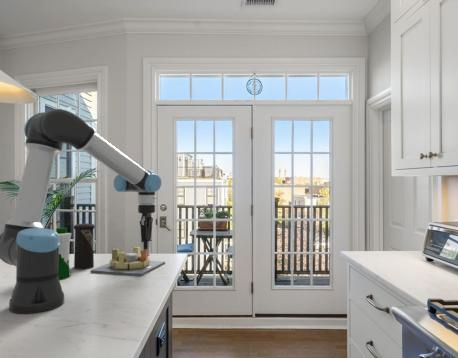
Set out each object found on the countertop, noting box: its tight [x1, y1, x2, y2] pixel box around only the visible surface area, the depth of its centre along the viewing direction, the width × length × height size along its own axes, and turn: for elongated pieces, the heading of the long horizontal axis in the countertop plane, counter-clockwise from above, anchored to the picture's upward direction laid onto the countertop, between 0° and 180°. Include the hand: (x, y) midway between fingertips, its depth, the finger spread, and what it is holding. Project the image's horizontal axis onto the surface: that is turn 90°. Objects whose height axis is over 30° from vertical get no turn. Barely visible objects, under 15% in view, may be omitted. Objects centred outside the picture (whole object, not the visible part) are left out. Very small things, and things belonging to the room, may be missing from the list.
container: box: [73, 223, 96, 270], centre depth 161 cm, size 9×9×20 cm
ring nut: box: [109, 246, 150, 269], centre depth 160 cm, size 17×17×7 cm
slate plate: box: [90, 252, 166, 277], centre depth 159 cm, size 24×24×6 cm
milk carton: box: [55, 226, 73, 281], centre depth 142 cm, size 9×9×20 cm
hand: (146, 255), depth 160 cm, fingers closed
